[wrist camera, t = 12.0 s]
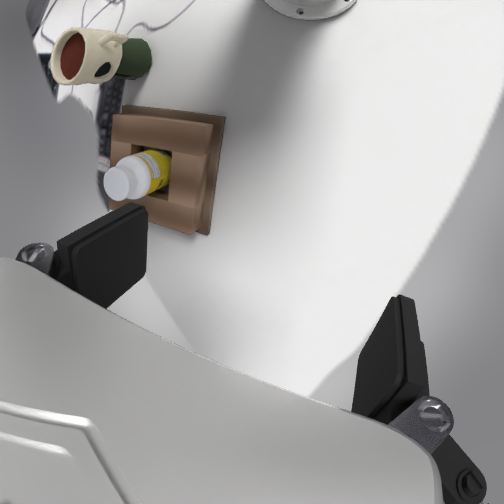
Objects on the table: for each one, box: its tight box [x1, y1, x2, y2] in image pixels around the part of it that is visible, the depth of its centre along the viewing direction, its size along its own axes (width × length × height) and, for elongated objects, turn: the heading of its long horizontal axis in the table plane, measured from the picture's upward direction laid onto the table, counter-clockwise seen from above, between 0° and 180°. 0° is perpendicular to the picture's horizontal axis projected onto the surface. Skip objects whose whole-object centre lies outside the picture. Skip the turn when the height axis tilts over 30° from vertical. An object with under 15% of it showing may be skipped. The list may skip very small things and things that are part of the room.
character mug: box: [51, 28, 152, 85], centre depth 31 cm, size 11×7×13 cm, turn 104°
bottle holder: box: [110, 105, 225, 235], centre depth 41 cm, size 16×16×4 cm
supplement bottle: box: [104, 148, 172, 201], centre depth 37 cm, size 5×5×10 cm
